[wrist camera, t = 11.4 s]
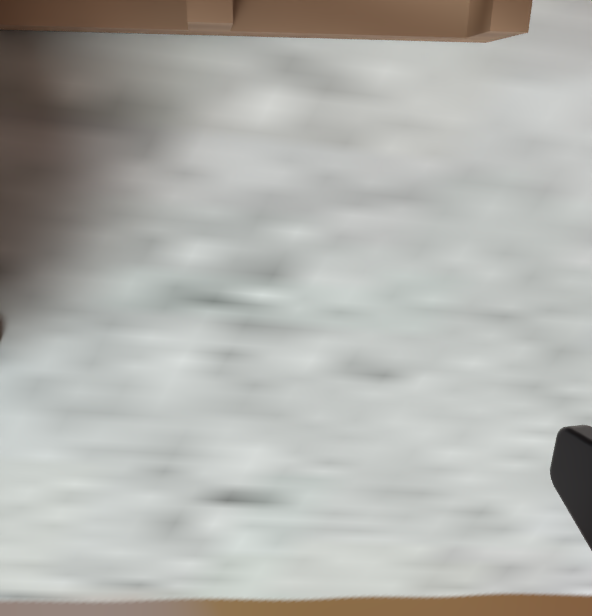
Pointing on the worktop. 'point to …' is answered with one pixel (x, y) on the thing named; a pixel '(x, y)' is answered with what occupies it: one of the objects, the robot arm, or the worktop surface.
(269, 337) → the worktop surface
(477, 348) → the worktop surface
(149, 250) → the worktop surface
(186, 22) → the brown ridged slab
